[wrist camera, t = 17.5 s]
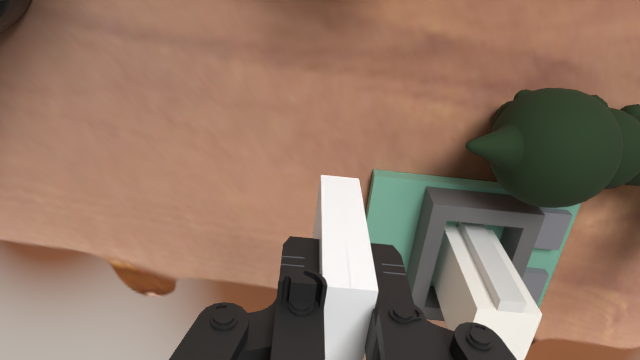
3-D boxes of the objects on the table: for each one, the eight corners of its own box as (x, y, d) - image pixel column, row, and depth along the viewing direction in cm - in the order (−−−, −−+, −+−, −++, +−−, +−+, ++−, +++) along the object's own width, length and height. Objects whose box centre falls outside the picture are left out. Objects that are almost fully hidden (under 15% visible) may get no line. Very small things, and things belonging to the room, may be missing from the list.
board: (353, 284, 51) (355, 316, 47) (373, 169, 45) (378, 193, 41) (532, 301, 52) (551, 334, 47) (575, 190, 46) (602, 216, 41)
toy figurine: (705, 95, 43) (448, 57, 40) (975, 194, 26) (570, 141, 23) (657, 185, 47) (420, 157, 44) (864, 320, 30) (506, 291, 27)
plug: (430, 274, 49) (458, 366, 38) (445, 216, 46) (480, 298, 35) (477, 278, 49) (519, 371, 38) (495, 221, 46) (546, 304, 35)
